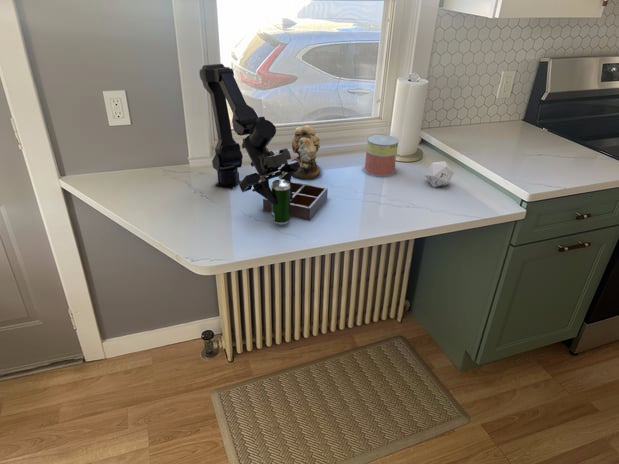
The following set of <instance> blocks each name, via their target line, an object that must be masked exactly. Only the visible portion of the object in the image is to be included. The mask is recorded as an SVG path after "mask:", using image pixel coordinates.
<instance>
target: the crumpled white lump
mask: <svg viewBox="0 0 619 464" xmlns="http://www.w3.org/2000/svg"><path fill="white" fill-rule="evenodd" d="M454 174H455V172H454V170H453V169H452V167H450V165H449V164H448V163H447V162H446V160H443V161H436V162H431V164H430V165H429V167H428V169H427V170H426V172H425V174H424V177H425V178H426V179H427V181H428V182H429V184H430V185H431V186H432V187H433V188H437V187H444V186H447V185H448V183H449V182H450V180H451V179H452V177H453V176H454Z"/></svg>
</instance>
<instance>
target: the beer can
mask: <svg viewBox="0 0 619 464" xmlns="http://www.w3.org/2000/svg"><path fill="white" fill-rule="evenodd" d="M270 189H271V191H272V193H273V195H274V197H275V199H276V201H277V205H276V206H275V205H274V204H272V212H271V220H272V222H273V223H274V224H276V225H286V224H288V223H289V222H290V220H291V216H290V183H289V181H287V180H280V179H275V180H273V181H272V182H271V187H270Z"/></svg>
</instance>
